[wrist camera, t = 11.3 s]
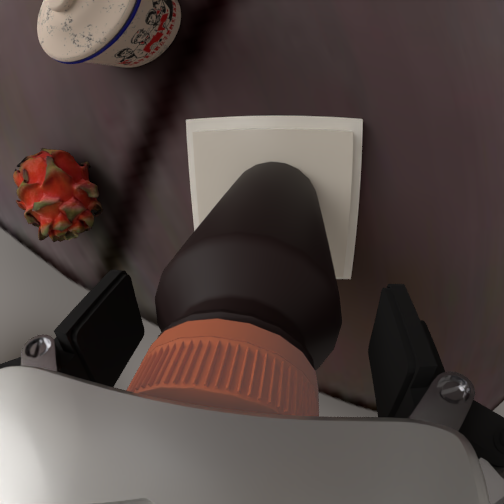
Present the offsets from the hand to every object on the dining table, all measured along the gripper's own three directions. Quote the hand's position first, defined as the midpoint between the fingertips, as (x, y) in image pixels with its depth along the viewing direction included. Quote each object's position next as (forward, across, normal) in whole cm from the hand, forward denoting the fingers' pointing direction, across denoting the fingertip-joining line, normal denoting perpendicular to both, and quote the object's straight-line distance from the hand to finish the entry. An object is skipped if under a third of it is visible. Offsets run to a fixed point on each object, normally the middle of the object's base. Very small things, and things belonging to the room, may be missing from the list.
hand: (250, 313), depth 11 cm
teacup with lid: (+18, +12, -17) cm, 27 cm away
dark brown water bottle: (+15, 0, +1) cm, 15 cm away
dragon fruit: (+18, +22, -1) cm, 28 cm away
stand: (+18, +1, +1) cm, 18 cm away
